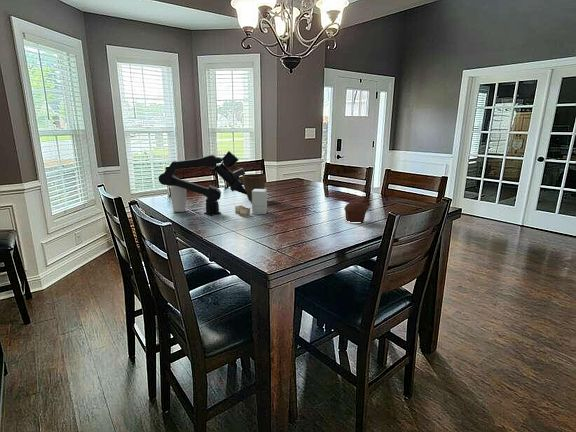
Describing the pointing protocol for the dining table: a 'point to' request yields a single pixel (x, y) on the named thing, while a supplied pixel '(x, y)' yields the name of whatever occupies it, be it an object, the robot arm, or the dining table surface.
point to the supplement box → (259, 201)
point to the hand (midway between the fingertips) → (246, 193)
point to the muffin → (355, 211)
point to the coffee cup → (178, 198)
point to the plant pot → (253, 183)
